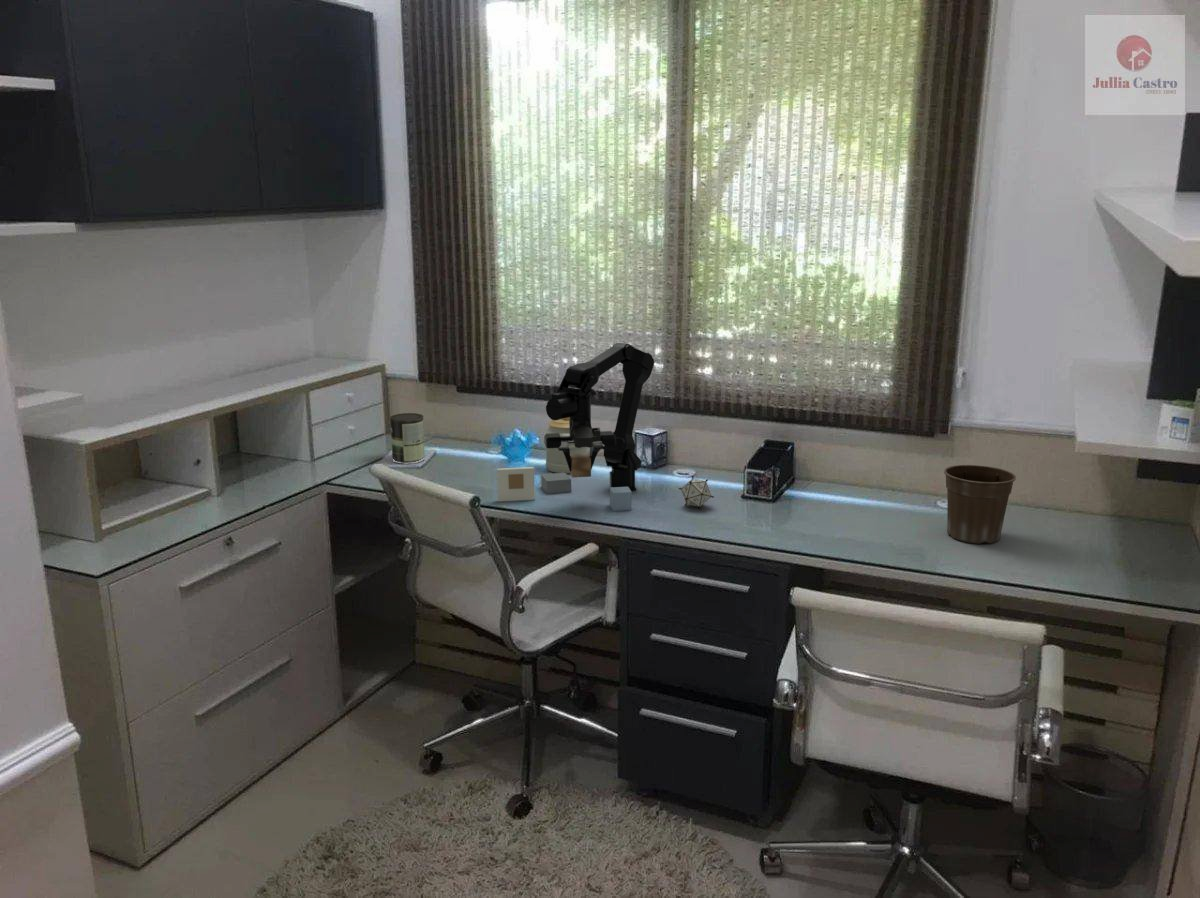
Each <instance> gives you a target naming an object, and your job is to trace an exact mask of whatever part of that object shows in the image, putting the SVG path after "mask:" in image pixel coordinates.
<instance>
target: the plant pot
mask: <svg viewBox="0 0 1200 898" xmlns="http://www.w3.org/2000/svg"><path fill="white" fill-rule="evenodd" d="M943 473H944V475H945V487H946V491H947V497H946V500H947V502H946V503H947V505H946V506H947V508H946V509H947V510H946V511H947V513H946V514H947V519H946V520H947V525H946V531H947V535H948V536H951V537H950V538H952V539H955V540H957V541H959V542H964V543H966V544H967V543H969V544H982V543H987V544H995V543H997V542H999V540H1001V534H1002V529H1003V526H1004V520H1005V515H1006V511H1007V505H1008V502H1009V498H1010V494H1012V489H1013V484H1014V482H1015V481H1016V479H1017V476H1016V474H1014V473H1013V472H1011V471H1009V470H1006V469H1002V468H998V467H994V466H987V465H980V464H979V465H977V464H976V465H975V464H959V465H952V466H948V467H945V468H944V470H943Z"/></svg>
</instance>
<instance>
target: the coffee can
mask: <svg viewBox="0 0 1200 898" xmlns="http://www.w3.org/2000/svg"><path fill="white" fill-rule="evenodd" d="M389 420H390V421H389V423H390V438H391V439H390V441H391V454H392V455H391V457H392V458H393V459H394V460H395V461H397V462H401V463H412V462H416V461H419V460H421V459H423V458H424V457H425V458H426V455H425V453H426V452H425V438H424V437H425V435H424V432H425V431H424V415H423V414H421V413H414V412H408V413H406V412H405V413H397V414H393V415H391V416H389ZM392 458H391V459H392Z"/></svg>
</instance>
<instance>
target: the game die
mask: <svg viewBox="0 0 1200 898" xmlns="http://www.w3.org/2000/svg"><path fill="white" fill-rule="evenodd" d="M694 477H695V476H693V475H691V479H689V481H688V482H686V484H685V485H683V486H682V487H678V490H679V491H681V493H682V496H683V497H684V498H683V499H684V501H685V504H684V507H686V506H688V505H689V506H693V507H697V508H698V510H699V511H701V510H702V508H701V507H702V506H703V505H704V504H705V503H706V502H708V500H709V499H711V498H713V499H714V498H715V496H714V495H712V494H711V492H710V488H709V485H708V483H707V482H708V480H709V479H708V478H707V479H705V480H702V479H697V478H694Z"/></svg>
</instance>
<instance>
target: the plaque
mask: <svg viewBox="0 0 1200 898" xmlns="http://www.w3.org/2000/svg"><path fill="white" fill-rule="evenodd" d="M496 479H497V480H496V481H497V482H496V483H497V485H496V486H497V502H517V501H535V499H536V497H535V493H536V492H535V491H536V490H535V467H534V466H530V467H529V466H528V467H524V466H523V467H506V468H502V467H501V468H496Z"/></svg>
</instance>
